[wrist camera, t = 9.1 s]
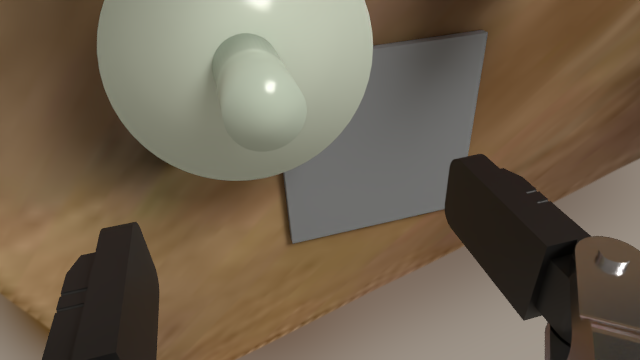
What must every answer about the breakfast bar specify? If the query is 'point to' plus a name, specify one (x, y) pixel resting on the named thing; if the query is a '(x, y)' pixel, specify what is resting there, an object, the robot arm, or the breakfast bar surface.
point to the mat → (393, 140)
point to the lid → (235, 79)
